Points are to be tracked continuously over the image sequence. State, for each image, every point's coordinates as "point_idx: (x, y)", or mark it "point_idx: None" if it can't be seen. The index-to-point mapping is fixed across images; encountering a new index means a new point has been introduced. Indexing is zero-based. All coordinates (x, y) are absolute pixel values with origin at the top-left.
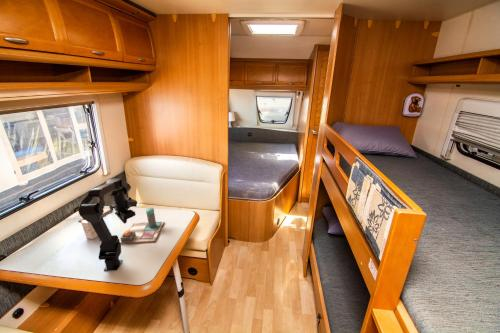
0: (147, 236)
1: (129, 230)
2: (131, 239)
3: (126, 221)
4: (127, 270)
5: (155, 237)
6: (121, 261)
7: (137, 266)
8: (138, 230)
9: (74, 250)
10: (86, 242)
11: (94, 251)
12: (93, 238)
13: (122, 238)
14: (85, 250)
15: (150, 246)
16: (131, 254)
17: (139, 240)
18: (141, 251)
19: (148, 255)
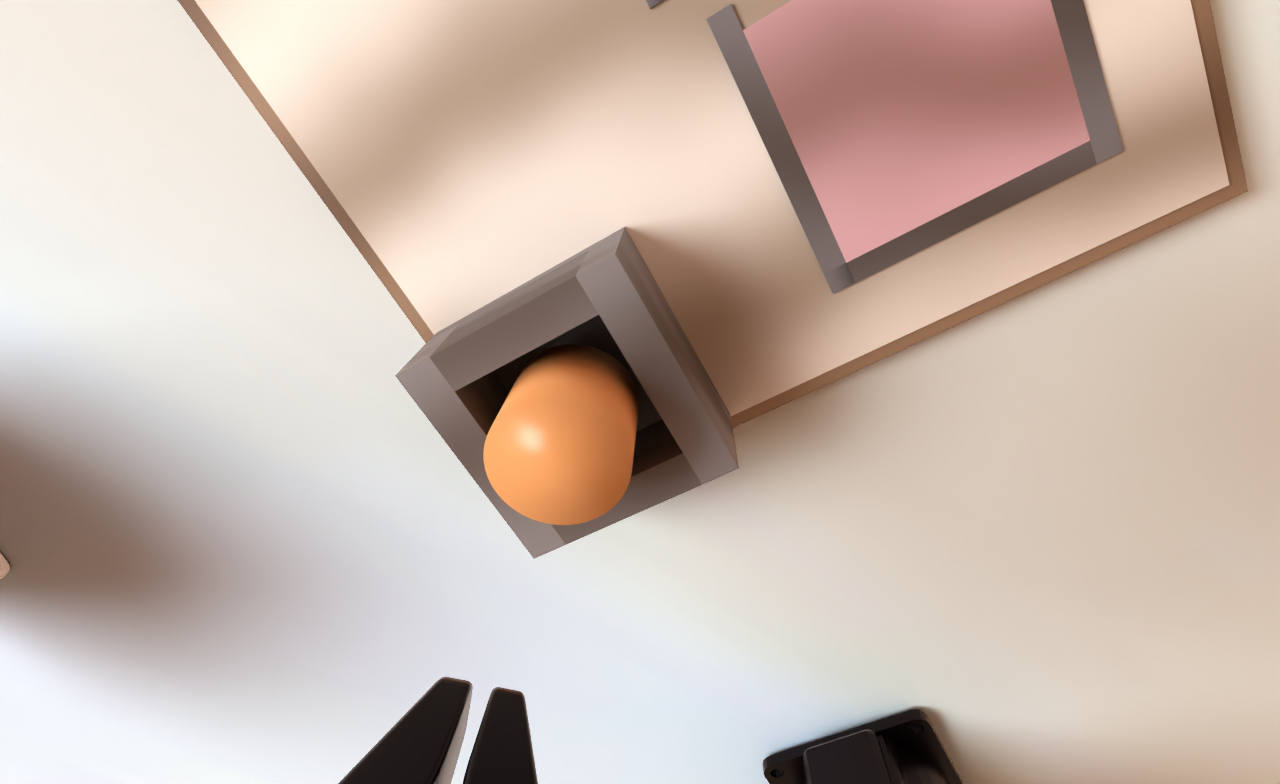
0: (944, 142)
1: (551, 394)
2: (731, 436)
3: (531, 761)
4: (1118, 777)
5: (1185, 79)
6: (933, 736)
7: (1220, 706)
8: (509, 42)
9: (121, 767)
10: (40, 640)
11: (365, 709)
12: (4, 559)
13: (573, 535)
14: (238, 731)
15: (1179, 334)
16: (950, 589)
17: (853, 325)
18: (1078, 491)
19: (1276, 515)
